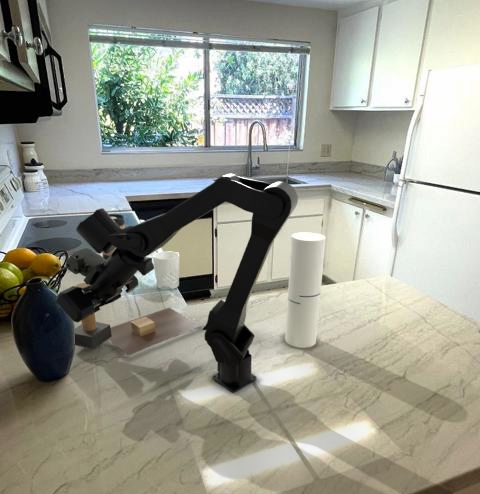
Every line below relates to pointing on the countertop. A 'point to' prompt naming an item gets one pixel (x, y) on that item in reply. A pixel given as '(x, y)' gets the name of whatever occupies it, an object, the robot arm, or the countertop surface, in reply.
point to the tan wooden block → (143, 326)
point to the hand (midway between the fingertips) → (82, 312)
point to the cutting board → (165, 328)
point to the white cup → (166, 269)
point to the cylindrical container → (304, 288)
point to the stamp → (91, 330)
